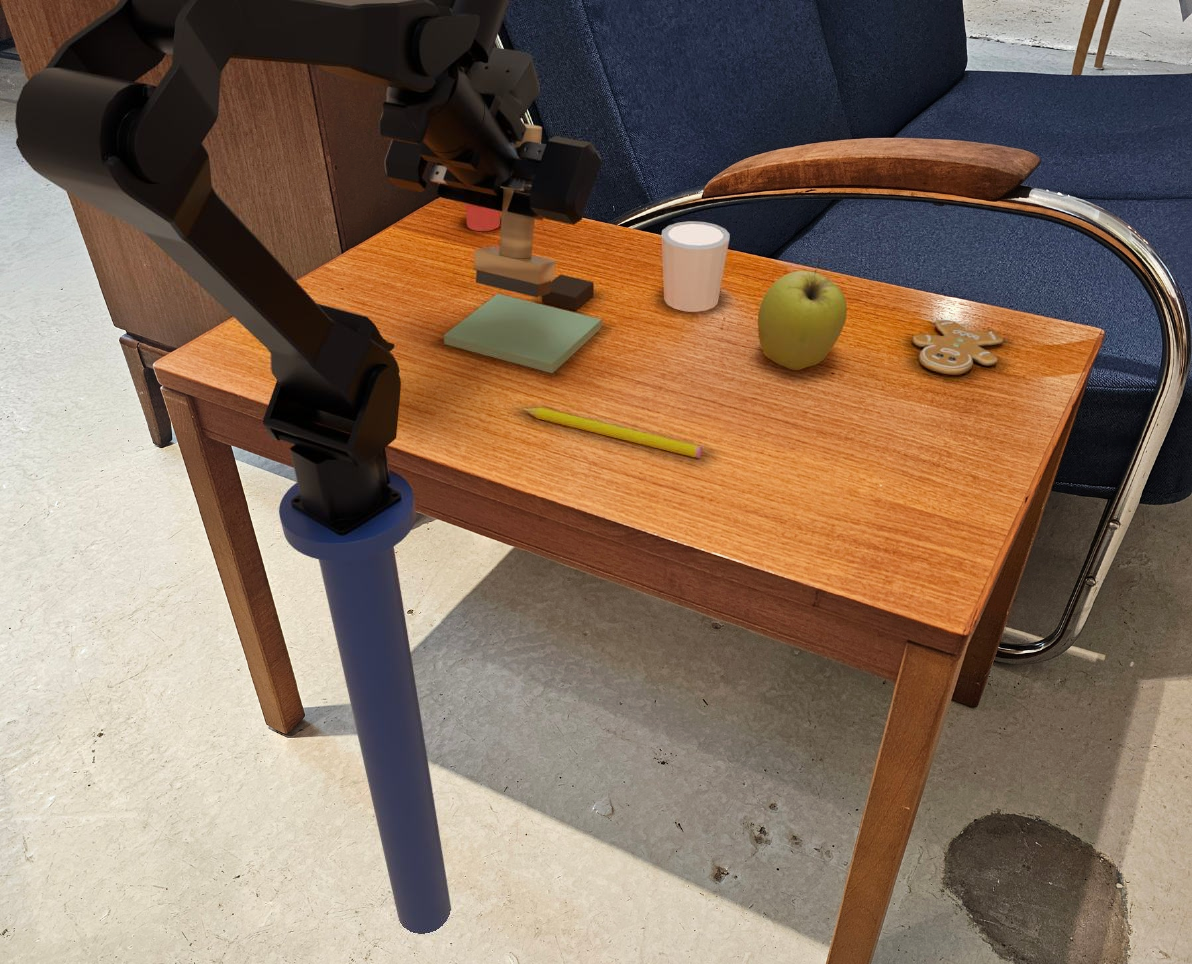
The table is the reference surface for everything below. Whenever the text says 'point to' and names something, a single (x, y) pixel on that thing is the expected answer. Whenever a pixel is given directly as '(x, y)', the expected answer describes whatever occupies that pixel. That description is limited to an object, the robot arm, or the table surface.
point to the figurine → (482, 218)
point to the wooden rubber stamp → (515, 249)
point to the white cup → (693, 264)
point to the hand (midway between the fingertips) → (527, 211)
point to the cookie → (956, 348)
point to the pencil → (616, 432)
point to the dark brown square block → (569, 292)
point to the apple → (801, 319)
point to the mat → (523, 332)
